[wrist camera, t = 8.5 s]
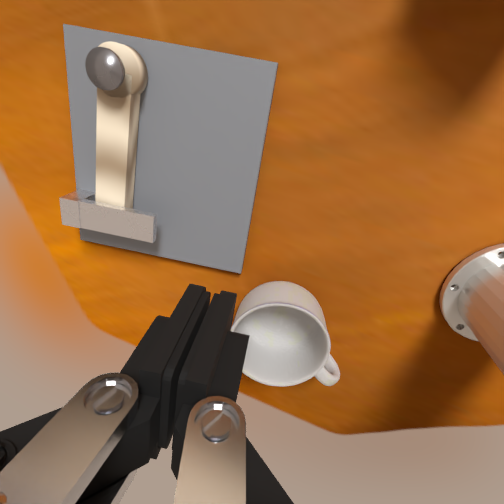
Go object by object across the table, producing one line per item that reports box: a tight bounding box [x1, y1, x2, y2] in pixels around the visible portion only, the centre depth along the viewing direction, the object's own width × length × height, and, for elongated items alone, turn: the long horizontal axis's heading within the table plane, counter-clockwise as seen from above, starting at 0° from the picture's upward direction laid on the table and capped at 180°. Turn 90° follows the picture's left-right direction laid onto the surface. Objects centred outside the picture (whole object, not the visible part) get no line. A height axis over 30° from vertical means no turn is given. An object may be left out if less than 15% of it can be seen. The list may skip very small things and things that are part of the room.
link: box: [85, 41, 148, 209], centre depth 32 cm, size 18×4×4 cm, turn 167°
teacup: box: [231, 281, 340, 387], centre depth 38 cm, size 14×11×8 cm
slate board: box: [63, 24, 278, 274], centre depth 34 cm, size 20×22×1 cm
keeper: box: [60, 189, 157, 243], centre depth 36 cm, size 10×3×5 cm, turn 80°
